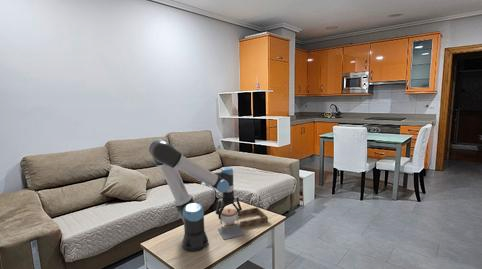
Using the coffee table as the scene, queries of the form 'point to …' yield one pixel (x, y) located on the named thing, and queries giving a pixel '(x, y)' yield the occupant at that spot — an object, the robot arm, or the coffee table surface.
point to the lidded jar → (229, 216)
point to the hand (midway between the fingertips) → (229, 221)
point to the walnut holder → (252, 222)
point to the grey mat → (231, 232)
